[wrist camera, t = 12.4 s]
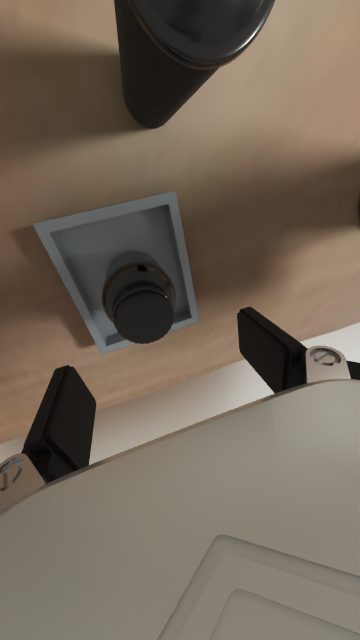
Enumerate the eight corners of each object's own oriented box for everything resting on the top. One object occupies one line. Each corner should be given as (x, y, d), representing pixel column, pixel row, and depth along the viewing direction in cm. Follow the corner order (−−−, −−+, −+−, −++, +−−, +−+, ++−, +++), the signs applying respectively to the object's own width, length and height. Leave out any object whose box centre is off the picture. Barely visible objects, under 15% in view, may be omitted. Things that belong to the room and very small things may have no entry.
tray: (169, 193, 23) (175, 190, 21) (192, 312, 31) (199, 321, 29) (42, 222, 21) (32, 224, 19) (102, 342, 29) (101, 354, 27)
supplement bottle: (161, 249, 25) (192, 273, 15) (160, 300, 28) (186, 350, 18) (102, 248, 23) (91, 276, 13) (108, 303, 26) (104, 360, 16)
